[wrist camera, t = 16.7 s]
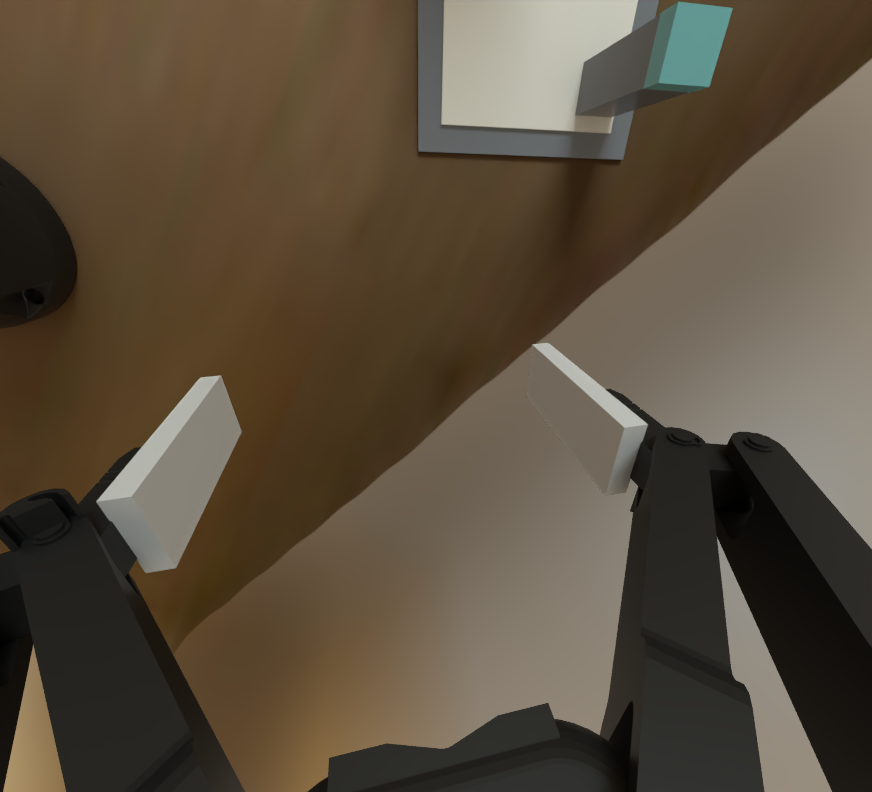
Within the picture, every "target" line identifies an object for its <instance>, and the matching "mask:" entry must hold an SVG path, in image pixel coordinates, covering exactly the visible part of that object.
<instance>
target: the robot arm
mask: <svg viewBox="0 0 872 792" xmlns="http://www.w3.org/2000/svg"><path fill="white" fill-rule="evenodd" d="M75 276H76V261H75V254H74V250H73V247H72V243H71V240H70V238H69V235H68V233H67V231H66V229H65V227H64V225H63V223H62V221H61V220H60V218H59V216H58V215H57V213H56V212H55V210H54V209H53V207H52V206H51V205H50V203H49V202H48V201H47V200H46V198H45V197H44V196H43V195H42V194H41V193H40V191H39V190H38V189H37V188H36V187H35V186H34V185H33V184H32V183H31V182H30V181H29V180H28V179H27V178H26V177H25V176H23V175H22V174H21V173H20V172H19V171H18V170H17V169H15V168H14V167H13V166H11V165H10V164H9V163H8V162H6V161H5V160H3V159H2V158H1V157H0V328H7V327H13V326H18V325H21V324H25V323H27V322H30V321H33V320H36V319H38V318H41V317H44V316H46V315H48V314H50V313H52V312H53V311H55V310H56V309H58V308H59V307H60V306H61V305H62V304H63V303H64V302H65V301H66V300H67V298H68V296H69V295H70V293H71V291H72V288H73V286H74V282H75ZM526 397H527V399H528V400H529V401H530V403H531V404H532V405H533V406H534V408H535V409H536V410H537V411H538V413H539V414H540V415H541V416H542V417H543V419H544V420H545V421H546V423H548V425H549V426H550V428H551V429H552V430H553V431H554V432H555V434H556V435H557V436H558V437H559V439H560V440H561V441H562V443H563V444H564V445H565V446H566V448H567V449H568V450H569V451H570V452H571V454H572V455H573V456H574V458H575V459H576V460H577V461H578V462H579V464H580V465H581V466H582V468H583V469H584V470H585V471H586V472H587V474H588V475H589V476H590V477H591V479H592V480H593V481H594V482H595V484H596V485H597V486H598V488H599V489H600V490H601V491H602V492H603V493H604V495H606V496H607V495H613V494H619V493H625V492H626V491H627V488H628V484H629V482H630V478H631V479H632V480H633V481H634V482H635V483H636V484H637V485H638V489H637V492H636V495H635V498H634V501H633V504H632V507H631V510H630V511H631V512H633V518H632V526H631V534H630V542H629V548H628V556H627V564H626V571H625V579H624V586H623V593H622V601H621V609H620V617H619V624H618V632H617V639H616V647H615V654H614V661H613V669H612V676H611V684H610V692H609V698H608V703H607V708H606V711H605V716H604V719H603V723H602V728H601V733H600V735H598V734H596V733H594V732H593V731H591V730H589V729H587V728H584V727H582V726H579V725H577V724H574V723H571V722H567V721H563V720H558V719H554V718H553V715H552V712H551V709H550V707H549V704H548V703H546V704H542V705H538V706H534V707H530V708H526V709H522V710H518V711H514V712H510V713H506V714H502V715H498V716H497V717H495V718H494V719H492V720H491V721H489V722H488V723H486V724H485V725H483V726H481V727H480V728H478V729H477V730H475V731H474V732H472V733H471V734H469V735H468V736H466V737H465V738H463V739H462V740H460V741H459V742H457V743H456V744H454V745H453V746H451V747H449V748H445V749H437V748H427V747H416V746H406V745H396V744H383V745H379V746H375V747H371V748H367V749H363V750H359V751H355V752H351V753H347V754H343V755H339V756H335V757H331V758H329V772H328V777H327V778H326V779H324V780H322V781H321V782H319V783H318V784H317V785H315V786H314V787H313V788H312V789H310V790H309V791H308V792H764V786H763V779H762V772H761V764H760V758H759V750H758V743H757V737H756V729H755V722H754V716H753V708H752V704H751V699H750V695H749V692H748V691H747V689H746V687H745V685H744V684H742V683H740V682H738V681H736V680H735V679H734V677H733V675H732V670H731V664H730V655H729V646H728V636H727V627H726V618H725V609H724V599H723V591H722V581H721V572H720V563H719V554H718V545H717V537H718V540H719V542H720V544H721V546H722V548H723V551H724V553H725V555H726V557H727V560H728V562H729V564H730V566H731V568H732V571H733V573H734V575H735V577H736V580H737V582H738V584H739V586H740V588H741V590H742V593H743V595H744V597H745V599H746V601H747V604H748V606H749V608H750V611H751V612H752V615H753V617H754V619H755V621H756V624H757V626H758V628H759V630H760V633H761V635H762V637H763V639H764V641H765V644H766V646H767V648H768V650H769V653H770V655H771V657H772V659H773V661H774V664H775V666H776V668H777V670H778V673H779V675H780V677H781V679H782V681H783V683H784V686H785V688H786V690H787V692H788V694H789V697H790V699H791V701H792V704H793V706H794V708H795V710H796V712H797V715H798V717H799V719H800V721H801V723H802V726H803V728H804V730H805V732H806V734H807V737H808V739H809V741H810V743H811V746H812V748H813V750H814V752H815V754H816V757H817V759H818V761H819V763H820V765H821V768H822V770H823V772H824V774H825V776H826V779H827V781H828V783H829V785H830V788H831V790H832V792H872V549H871V548H870V547H869V546H868V545H867V543H866V542H865V541H864V540H863V539H862V538H861V536H860V535H859V534H858V533H857V532H856V531H855V530H854V528H853V527H852V526H851V525H850V524H849V522H848V521H847V520H846V519H845V518H844V517H843V516H842V514H841V513H840V512H839V511H838V510H837V508H836V507H835V506H834V505H833V504H832V503H831V501H830V500H829V499H828V498H827V497H826V496H825V494H824V493H823V492H822V491H821V490H820V489H819V488H818V486H817V485H816V484H815V483H814V482H813V480H812V479H811V478H810V477H809V476H808V475H807V474H806V472H805V471H804V470H803V469H802V468H801V466H800V465H799V464H798V463H797V462H796V461H795V459H794V458H793V457H792V456H791V455H790V454H789V452H788V451H787V450H786V449H785V448H784V447H783V446H782V445H781V444H779V443H778V442H776V441H774V440H772V439H770V438H769V437H767V436H763V435H761V434H758V433H750V432H737V433H734V434H733V435H732V436H731V438H730V440H729V442H728V444H727V445H720V444H708V443H705V441H704V440H703V439H702V438H700V437H699V436H698V435H696V434H694V433H692V432H690V431H687V430H684V429H680V428H673V427H669V428H665V427H663V426H662V425H661V424H660V423H658V422H657V421H656V420H655V419H653V418H652V417H650V415H648V414H647V413H646V412H644V411H643V410H640V408H639V407H638V406H637V405H636V404H633V403H632V401H630V400H629V399H628V398H627V397H625V396H624V395H623V394H620V393H618V392H616V391H614V390H611V389H604V388H603V387H602V386H600V385H599V384H598V383H597V382H595V381H594V380H593V379H592V378H590V377H589V376H588V375H587V374H586V373H584V372H583V371H582V370H581V369H580V368H578V367H577V366H576V365H575V364H573V363H572V362H571V361H570V360H568V359H567V358H566V357H565V356H564V355H562V354H561V353H560V352H559V351H558V350H556V349H555V348H554V347H553V346H551V345H550V344H549V343H542V344H532V352H531V360H530V369H529V379H528V387H527V396H526ZM240 434H241V429H240V426H239V423H238V421H237V418H236V415H235V412H234V410H233V407H232V404H231V402H230V399H229V396H228V393H227V391H226V388H225V385H224V382H223V380H222V377H221V376H211V377H201V378H200V379H199V380H198V381H197V382H196V383H195V384H194V386H193V387H192V388H191V389H190V390H189V392H188V393H187V394H186V395H185V396H184V398H183V399H182V400H181V401H180V402H179V404H178V405H177V406H176V407H175V408H174V409H173V411H172V412H171V413H170V414H169V415H168V417H167V418H166V419H165V420H164V421H163V423H162V424H161V425H160V426H159V427H158V429H157V430H156V431H155V432H154V433H153V434H152V436H151V437H150V438H149V439H148V440H147V442H146V443H145V444H144V445H143V446H142V447H139V448H134V449H132V450H131V451H129V452H128V453H127V454H125V455H124V456H122V457H121V458H119V459H118V460H117V461H116V462H115V464H114V465H113V466H112V467H111V468H110V469H109V470H108V473H106V474H105V475H104V476H103V477H102V478H101V479H100V480H99V481H100V482H99V483H97V484H96V485H95V486H94V487H93V488H92V489H91V491H90V492H89V493H88V494H87V495H86V496H85V497H84V498H83V500H82V501H81V502H80V503H79V504H77V502H76V501H75V500H74V498H73V497H72V496H71V494H70V493H69V492H68V491H66V490H65V489H50V490H45V491H41V492H38V493H35V494H32V495H29V496H27V497H25V498H23V499H21V500H19V501H17V502H15V503H13V504H11V505H10V506H8V507H7V508H6V509H4V510H3V511H1V512H0V539H1V540H2V541H3V543H4V544H5V545H6V546H7V547H8V548H9V549H10V550H11V551H8V552H5V553H2V554H0V792H3V788H4V784H5V779H6V774H7V769H8V765H9V760H10V755H11V750H12V745H13V740H14V735H15V731H16V725H17V721H18V715H19V711H20V706H21V701H22V696H23V691H24V687H25V682H26V677H27V672H28V667H29V662H30V657H31V652H32V647H33V644H34V648H35V653H36V658H37V662H38V666H39V671H40V675H41V680H42V684H43V689H44V693H45V698H46V702H47V707H48V711H49V716H50V720H51V725H52V729H53V733H54V738H55V743H56V747H57V752H58V756H59V761H60V765H61V770H62V774H63V778H64V783H65V788H66V792H245V791H244V789H243V787H242V785H241V783H240V781H239V780H238V778H237V776H236V774H235V772H234V770H233V768H232V766H231V764H230V762H229V760H228V759H227V757H226V755H225V753H224V751H223V749H222V747H221V745H220V743H219V741H218V740H217V738H216V736H215V734H214V732H213V730H212V728H211V726H210V724H209V722H208V720H207V719H206V717H205V715H204V713H203V711H202V709H201V707H200V705H199V703H198V701H197V700H196V698H195V696H194V694H193V692H192V690H191V689H190V686H189V684H188V682H187V681H186V679H185V677H184V675H183V673H182V671H181V669H180V667H179V665H178V663H177V661H176V660H175V658H174V656H173V654H172V652H171V650H170V648H169V646H168V644H167V642H166V641H165V639H164V637H163V635H162V633H161V631H160V629H159V627H158V625H157V623H156V622H155V620H154V618H153V616H152V614H151V612H150V610H149V608H148V606H147V604H146V602H145V601H144V599H143V597H142V595H141V593H140V591H139V589H138V587H137V585H136V583H135V582H134V580H133V578H132V577H131V576H130V574H129V571H130V569H131V568H132V566H133V564H134V563H135V561H136V560H137V561H138V563H139V564H140V565H141V567H142V568H143V570H144V571H145V573H149V572H155V571H161V570H167V569H173V568H176V567H177V565H178V563H179V560H180V558H181V556H182V554H183V552H184V550H185V548H186V546H187V544H188V542H189V540H190V538H191V536H192V534H193V531H194V529H195V527H196V525H197V523H198V521H199V519H200V517H201V515H202V513H203V511H204V509H205V507H206V505H207V502H208V500H209V498H210V496H211V494H212V492H213V490H214V488H215V486H216V484H217V482H218V480H219V478H220V476H221V473H222V471H223V469H224V467H225V465H226V463H227V461H228V459H229V457H230V455H231V453H232V451H233V449H234V447H235V444H236V442H237V440H238V438H239V436H240Z"/></svg>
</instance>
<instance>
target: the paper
mask: <svg viewBox="0 0 872 792" xmlns="http://www.w3.org/2000/svg"><path fill="white" fill-rule="evenodd" d="M658 2H659V0H418V152H439V153H463V154H488V155H512V156H537V157H561V158H586V159H610V160H623V157H624V153H625V148H626V144H627V139H628V135H629V130H630V126H631V122H632V117H633V113H634V110H633V111H630V112H627V113H624V114H621V115H618V116H615V117H597V116H581V115H575V113H576V107H577V101H578V95H579V89H580V83H581V77H582V71H583V65H584V62H585V61H587V60H588V59H590V58H592V57H593V56H595V55H596V54H598V53H600V52H601V51H603V50H604V49H606V48H608V47H609V46H611V45H612V44H614V43H616V42H617V41H619V40H621V39H622V38H624V37H625V36H627V35H629V34H630V33H632V32H633V31H635V30H637V29H638V28H640V27H641V26H643V25H645V24H646V23H648V22H649V21H651V20H653V19H654V18H655V15H656V11H657V6H658Z"/></svg>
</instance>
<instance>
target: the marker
mask: <svg viewBox="0 0 872 792" xmlns="http://www.w3.org/2000/svg"><path fill="white" fill-rule="evenodd" d="M732 9H733V8H727V7H719V6H710V5H702V4H693V3H685V2H677V3H676V4H674V5H672V6H671V7H669V8H668V9H666V10H665V11H663V12H661V14H660V15H659V16H657V17H656V18H654V19H653V20H651V21H649V22H648V23H646V24H645V25H643V26H641V27H640V28H638V29H637V30H635V31H633V32H632V33H630V34H629V35H627V36H625V37H624V38H622V39H621V40H619V41H617V42H616V43H614V44H612V45H611V46H609V47H608V48H606V49H604V50H603V51H601V52H600V53H598V54H596V55H595V56H593V57H592V58H590V59H588V60H587V61H585V62H584V65H583V71H582V77H581V83H580V89H579V95H578V101H577V107H576V113H575V115H581V116H597V117H615V116H618V115H621V114H624V113H627V112H630V111H633V110H636V109H639V108H642V107H645V106H648V105H652V104H655V103H658V102H661V101H664V100H667V99H670V98H673V97H676V96H679V95H682V94H686V93H689V92H690V93H692V92H695V91H698V90H701V89H704V88H708V87H709V86H710V83H711V79H712V76H713V73H714V69H715V66H716V63H717V59H718V56H719V53H720V49H721V46H722V43H723V39H724V36H725V33H726V29H727V26H728V23H729V19H730V16H731V13H732Z"/></svg>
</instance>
